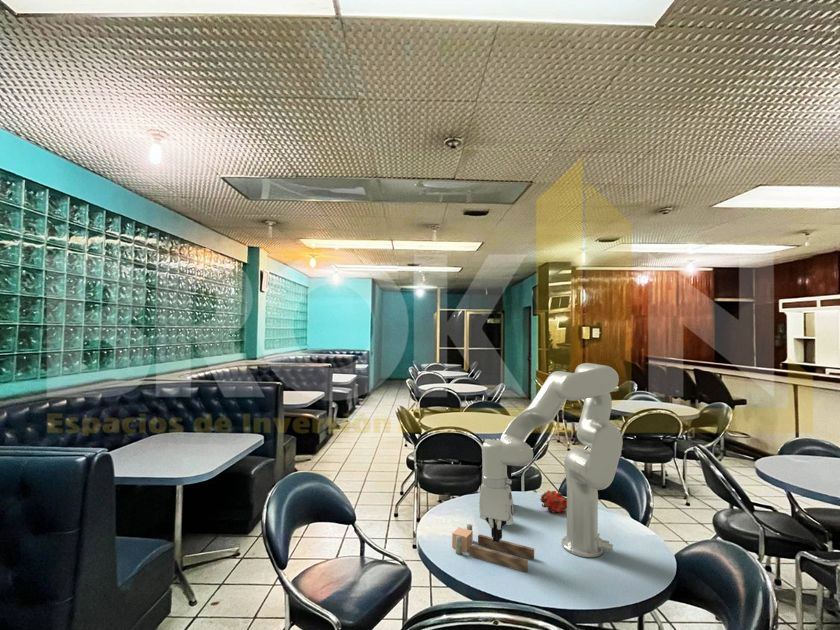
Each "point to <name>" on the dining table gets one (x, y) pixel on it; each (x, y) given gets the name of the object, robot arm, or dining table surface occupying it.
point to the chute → (497, 556)
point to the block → (463, 538)
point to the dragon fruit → (554, 501)
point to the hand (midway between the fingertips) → (497, 539)
